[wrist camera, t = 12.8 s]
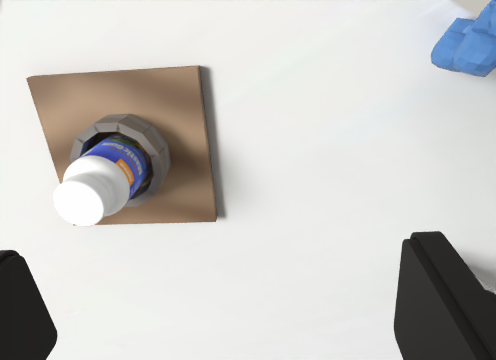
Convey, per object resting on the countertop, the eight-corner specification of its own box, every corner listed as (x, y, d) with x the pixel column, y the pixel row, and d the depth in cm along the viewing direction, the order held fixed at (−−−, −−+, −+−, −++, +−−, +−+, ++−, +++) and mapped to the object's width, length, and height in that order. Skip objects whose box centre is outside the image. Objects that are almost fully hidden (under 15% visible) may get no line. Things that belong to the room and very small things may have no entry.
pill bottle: (163, 154, 35) (127, 201, 27) (136, 191, 37) (94, 246, 29) (116, 120, 34) (62, 157, 25) (90, 160, 36) (32, 208, 27)
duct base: (217, 216, 40) (211, 237, 36) (78, 219, 41) (59, 241, 37) (199, 65, 33) (189, 72, 29) (34, 75, 34) (4, 84, 30)
